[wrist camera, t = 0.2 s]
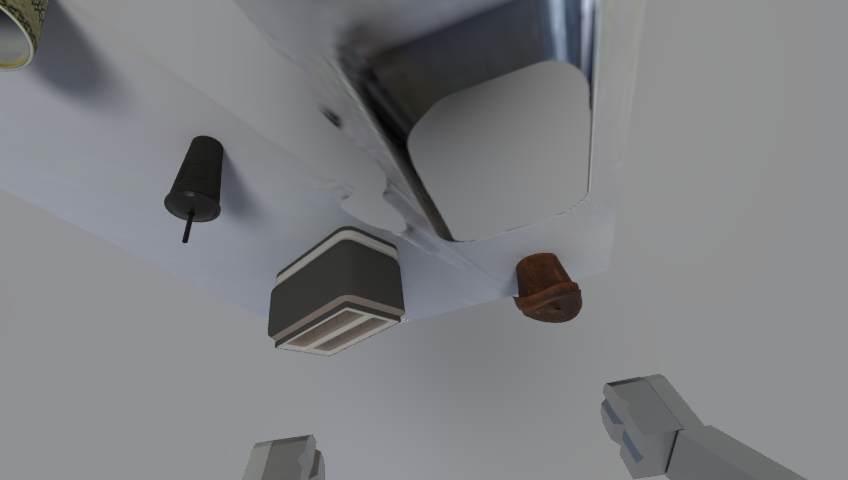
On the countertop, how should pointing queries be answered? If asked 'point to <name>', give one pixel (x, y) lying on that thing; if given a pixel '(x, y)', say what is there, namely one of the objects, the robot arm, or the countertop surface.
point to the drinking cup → (197, 184)
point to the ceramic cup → (20, 31)
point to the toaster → (337, 294)
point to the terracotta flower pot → (546, 290)
